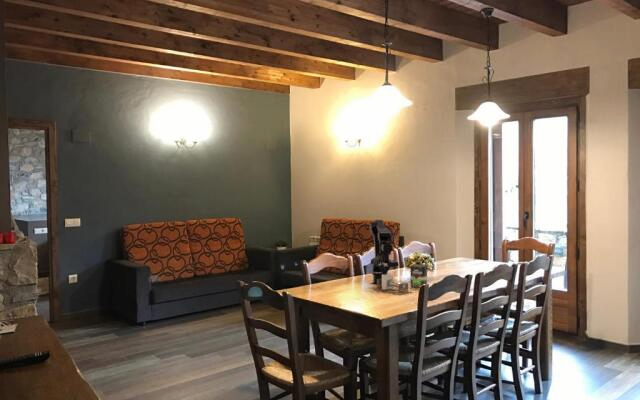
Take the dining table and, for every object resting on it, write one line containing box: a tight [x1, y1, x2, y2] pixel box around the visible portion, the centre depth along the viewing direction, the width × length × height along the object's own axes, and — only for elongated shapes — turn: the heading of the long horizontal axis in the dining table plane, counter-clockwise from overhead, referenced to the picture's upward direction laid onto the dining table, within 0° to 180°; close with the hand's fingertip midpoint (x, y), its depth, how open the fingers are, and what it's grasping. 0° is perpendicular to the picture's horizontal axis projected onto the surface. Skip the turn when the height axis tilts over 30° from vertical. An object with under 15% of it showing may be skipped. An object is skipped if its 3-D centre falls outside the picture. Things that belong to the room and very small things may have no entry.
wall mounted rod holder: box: [373, 279, 413, 296], centre depth 318 cm, size 22×10×6 cm, turn 38°
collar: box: [382, 273, 395, 290], centre depth 320 cm, size 3×7×9 cm, turn 128°
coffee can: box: [409, 263, 428, 291], centre depth 326 cm, size 10×10×14 cm
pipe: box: [381, 280, 406, 294], centre depth 318 cm, size 20×10×6 cm, turn 38°
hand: (384, 276), depth 323 cm, fingers closed
